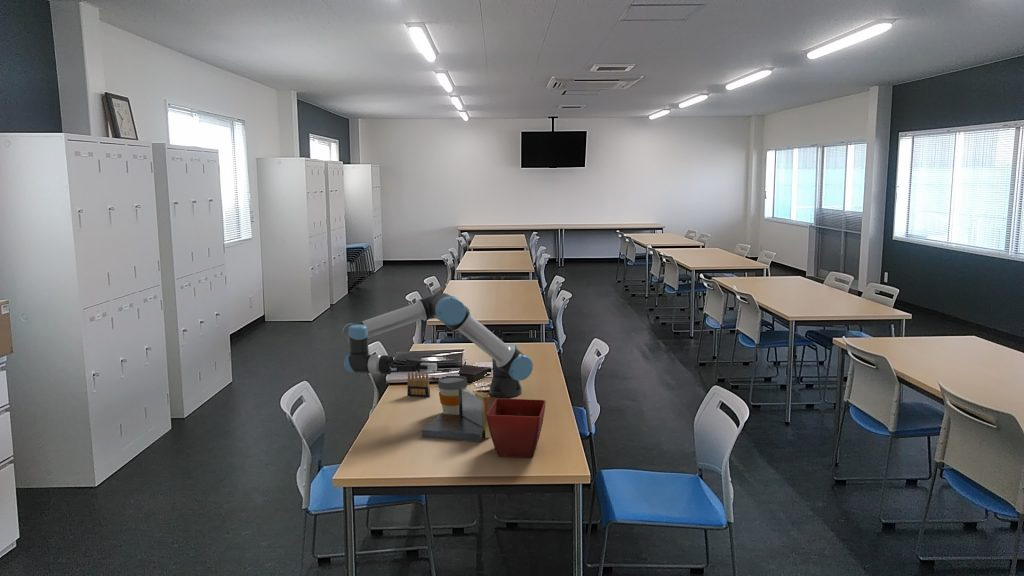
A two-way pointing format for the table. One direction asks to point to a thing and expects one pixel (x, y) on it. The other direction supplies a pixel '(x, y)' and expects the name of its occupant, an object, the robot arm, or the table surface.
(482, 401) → the wooden l-shaped post
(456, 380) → the reusable coffee cup
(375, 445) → the table surface
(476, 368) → the diary
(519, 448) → the plant pot
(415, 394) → the ammunition clip
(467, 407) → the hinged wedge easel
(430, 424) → the dark grey flat slab
